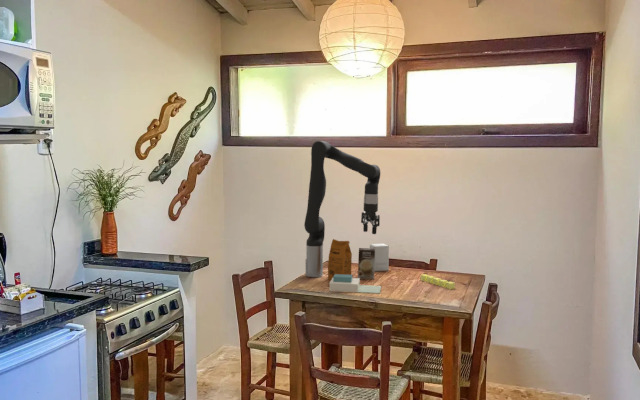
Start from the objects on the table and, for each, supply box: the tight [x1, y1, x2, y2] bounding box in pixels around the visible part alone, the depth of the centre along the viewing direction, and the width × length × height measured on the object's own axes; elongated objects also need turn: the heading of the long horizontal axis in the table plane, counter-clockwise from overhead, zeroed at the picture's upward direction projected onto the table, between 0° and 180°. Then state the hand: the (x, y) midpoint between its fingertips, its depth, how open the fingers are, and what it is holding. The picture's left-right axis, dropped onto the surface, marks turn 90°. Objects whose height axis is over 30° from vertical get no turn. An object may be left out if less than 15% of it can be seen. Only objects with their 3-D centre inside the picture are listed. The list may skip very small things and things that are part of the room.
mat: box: [357, 284, 382, 295], centre depth 263 cm, size 11×14×1 cm
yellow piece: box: [420, 273, 456, 290], centre depth 277 cm, size 32×32×3 cm
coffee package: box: [327, 238, 353, 281], centre depth 282 cm, size 10×12×22 cm
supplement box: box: [369, 243, 390, 272], centre depth 310 cm, size 9×9×15 cm
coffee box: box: [357, 247, 375, 280], centre depth 288 cm, size 9×6×16 cm
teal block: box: [333, 274, 353, 282], centre depth 265 cm, size 9×6×2 cm, turn 81°
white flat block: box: [328, 277, 361, 293], centre depth 265 cm, size 14×13×4 cm
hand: (369, 232), depth 277 cm, fingers open, 8 cm apart
